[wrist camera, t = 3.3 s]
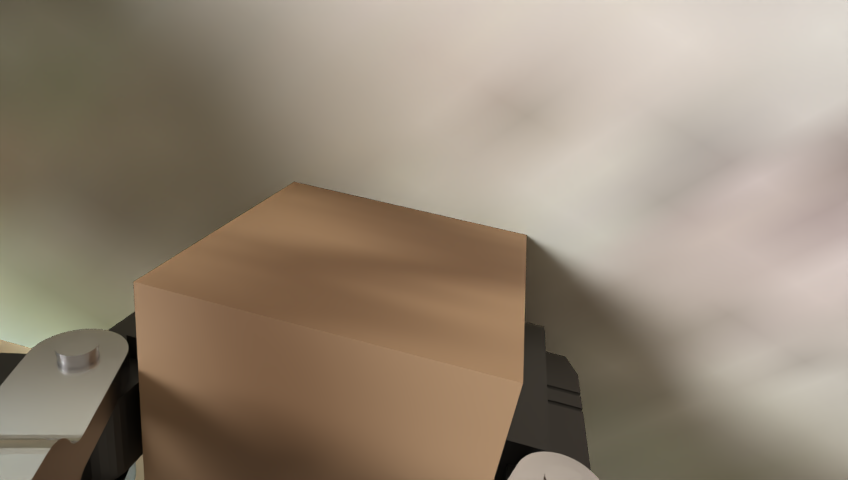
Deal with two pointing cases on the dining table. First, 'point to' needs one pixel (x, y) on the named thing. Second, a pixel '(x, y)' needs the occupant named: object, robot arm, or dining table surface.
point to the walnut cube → (332, 345)
